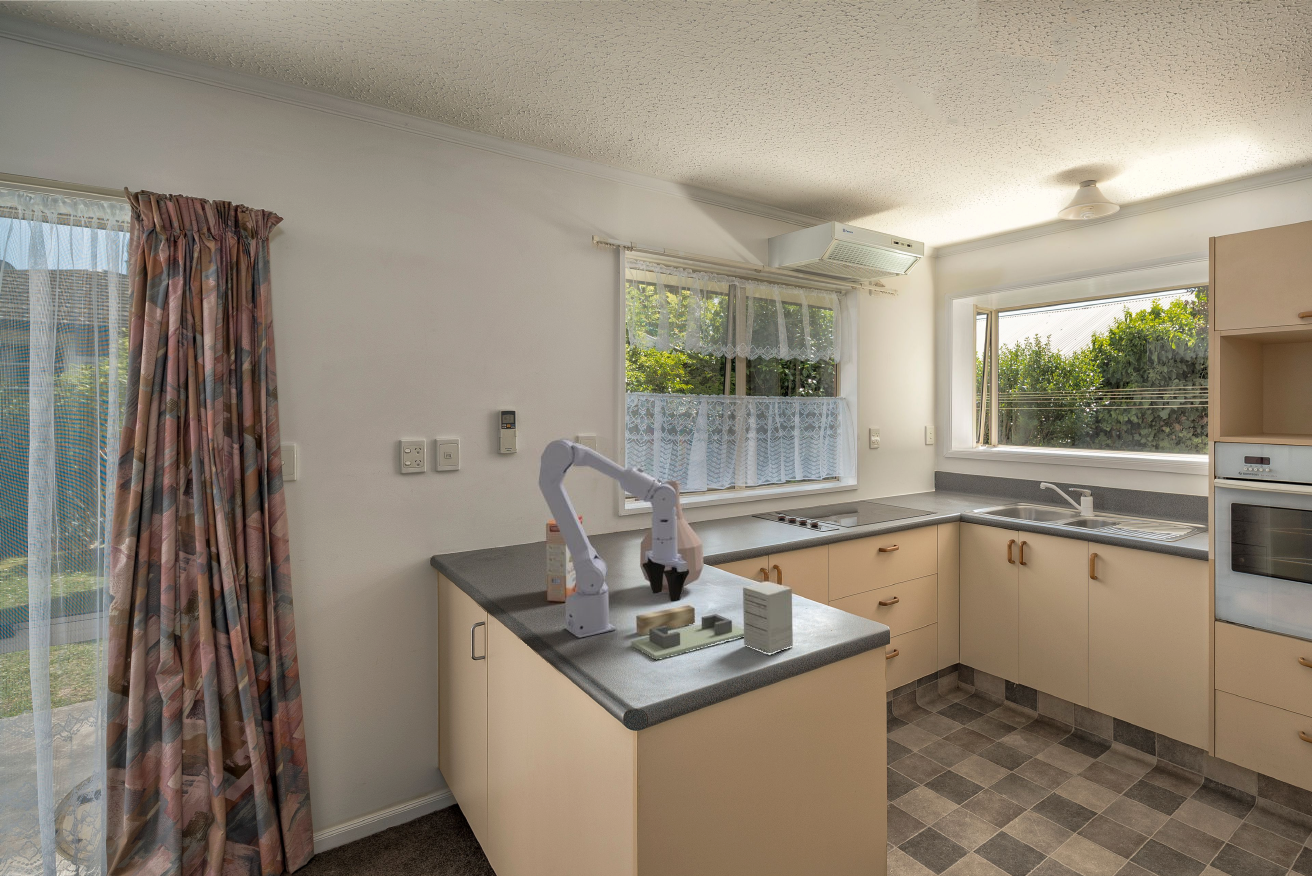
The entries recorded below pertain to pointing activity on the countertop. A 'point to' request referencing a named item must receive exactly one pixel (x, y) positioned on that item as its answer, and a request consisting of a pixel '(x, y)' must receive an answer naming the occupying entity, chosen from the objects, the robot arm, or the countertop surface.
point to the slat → (665, 619)
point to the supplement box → (767, 616)
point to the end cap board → (687, 637)
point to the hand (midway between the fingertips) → (665, 596)
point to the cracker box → (559, 565)
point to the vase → (679, 546)
